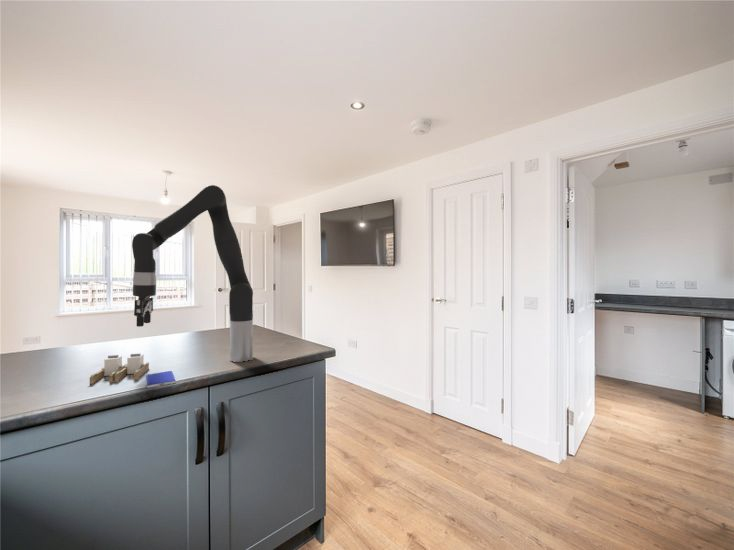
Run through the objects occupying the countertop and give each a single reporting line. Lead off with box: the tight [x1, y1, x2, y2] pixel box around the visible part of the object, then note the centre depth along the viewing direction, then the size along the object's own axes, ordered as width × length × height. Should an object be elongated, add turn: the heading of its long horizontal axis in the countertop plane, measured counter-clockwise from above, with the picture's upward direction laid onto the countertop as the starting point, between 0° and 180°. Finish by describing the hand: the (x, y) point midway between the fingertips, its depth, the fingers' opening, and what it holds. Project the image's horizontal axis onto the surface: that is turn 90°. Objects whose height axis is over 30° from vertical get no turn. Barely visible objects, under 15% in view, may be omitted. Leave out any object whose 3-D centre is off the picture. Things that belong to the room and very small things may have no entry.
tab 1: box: [103, 354, 123, 377], centre depth 120 cm, size 4×4×7 cm
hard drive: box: [145, 370, 177, 389], centre depth 114 cm, size 2×8×12 cm
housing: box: [89, 363, 127, 385], centre depth 117 cm, size 6×14×3 cm, turn 19°
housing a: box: [114, 362, 150, 383], centre depth 119 cm, size 6×14×3 cm, turn 19°
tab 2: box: [126, 353, 145, 375], centre depth 122 cm, size 4×4×7 cm
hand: (143, 324), depth 129 cm, fingers open, 8 cm apart
